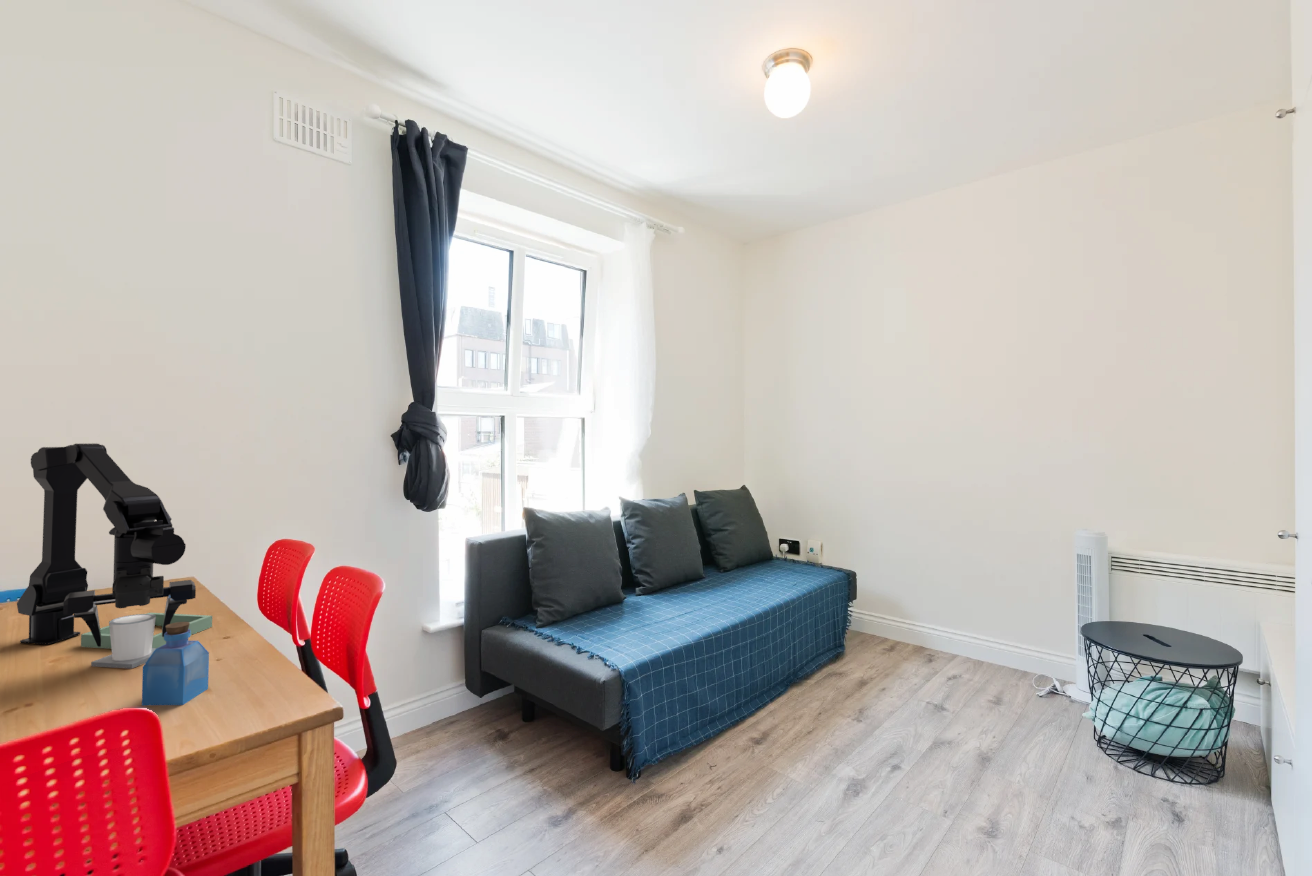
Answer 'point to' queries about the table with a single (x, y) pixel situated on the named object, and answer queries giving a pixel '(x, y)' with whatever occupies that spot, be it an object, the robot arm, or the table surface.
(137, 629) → the white cup
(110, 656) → the slate tile
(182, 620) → the green tray
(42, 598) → the robot arm
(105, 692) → the table surface
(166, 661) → the perfume bottle
